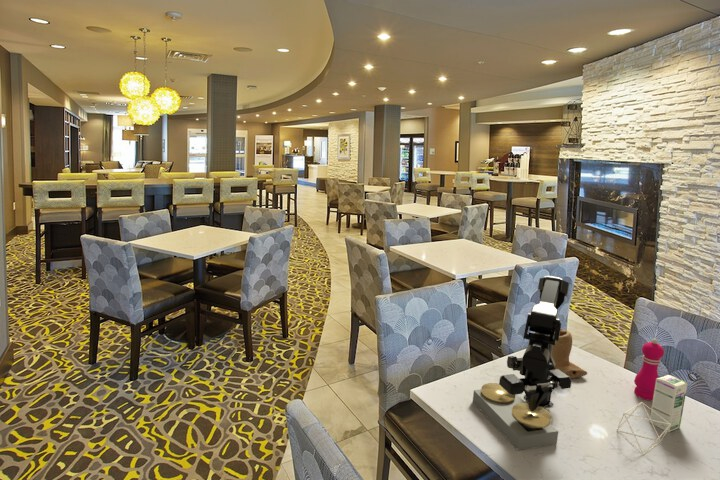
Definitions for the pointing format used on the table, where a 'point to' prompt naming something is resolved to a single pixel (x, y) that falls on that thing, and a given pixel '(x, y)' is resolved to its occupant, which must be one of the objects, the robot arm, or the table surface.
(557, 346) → the tan boot
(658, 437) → the geometric polyhedron
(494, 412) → the panel
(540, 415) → the knob
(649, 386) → the pepper mill
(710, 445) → the table surface
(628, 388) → the table surface
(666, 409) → the syrup box
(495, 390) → the knob
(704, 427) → the table surface
